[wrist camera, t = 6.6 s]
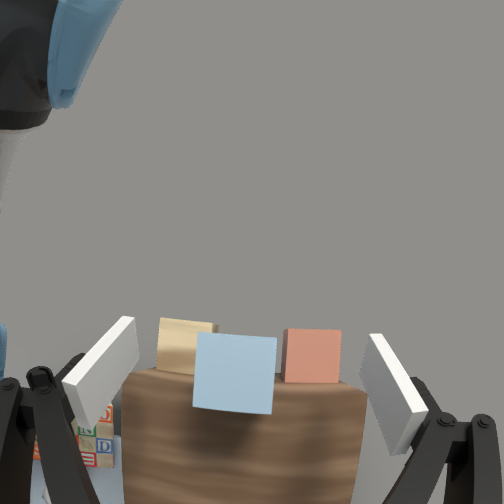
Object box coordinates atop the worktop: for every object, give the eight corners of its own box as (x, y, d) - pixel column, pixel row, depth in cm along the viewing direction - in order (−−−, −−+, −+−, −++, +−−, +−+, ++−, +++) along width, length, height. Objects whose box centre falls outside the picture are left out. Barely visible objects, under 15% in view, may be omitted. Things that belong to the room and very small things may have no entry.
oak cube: (208, 376, 26) (212, 323, 27) (156, 369, 26) (160, 317, 27) (215, 371, 31) (218, 325, 32) (170, 365, 31) (174, 320, 32)
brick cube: (338, 382, 25) (341, 330, 27) (284, 382, 26) (288, 328, 27) (326, 376, 30) (329, 331, 32) (280, 375, 30) (283, 330, 32)
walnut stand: (325, 587, 13) (367, 393, 19) (134, 570, 14) (122, 374, 20) (306, 523, 27) (326, 374, 33) (168, 512, 27) (171, 363, 33)
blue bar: (271, 414, 14) (277, 337, 15) (192, 406, 14) (197, 331, 15) (268, 371, 35) (270, 338, 36) (235, 368, 35) (237, 336, 36)
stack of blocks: (-4, 451, 26) (-10, 382, 29) (2, 438, 31) (-2, 375, 34) (114, 468, 37) (113, 405, 40) (108, 454, 42) (108, 395, 46)
